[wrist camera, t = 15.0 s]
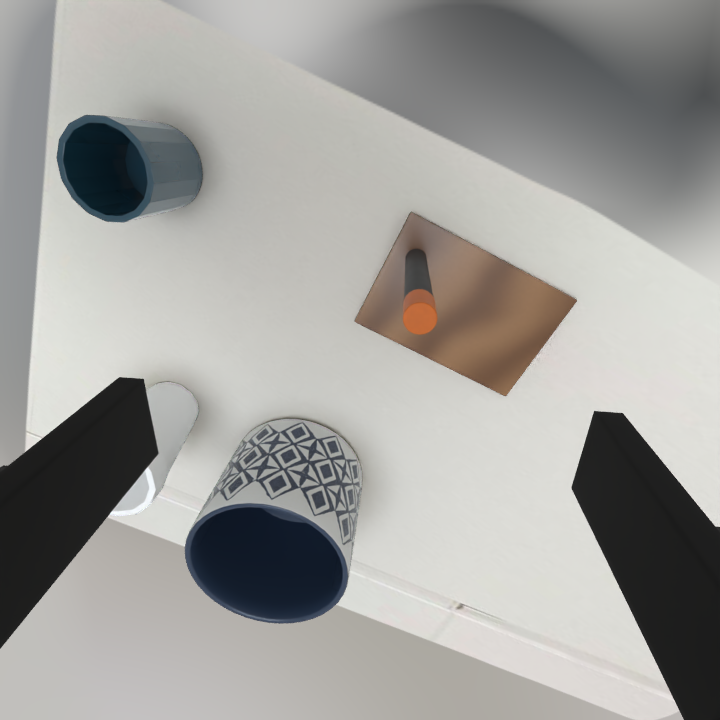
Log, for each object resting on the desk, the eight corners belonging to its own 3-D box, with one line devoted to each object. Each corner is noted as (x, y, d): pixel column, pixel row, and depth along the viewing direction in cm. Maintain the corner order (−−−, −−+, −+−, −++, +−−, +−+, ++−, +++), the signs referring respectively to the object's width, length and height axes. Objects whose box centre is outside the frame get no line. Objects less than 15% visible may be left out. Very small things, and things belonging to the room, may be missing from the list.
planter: (299, 537, 60) (269, 644, 47) (210, 461, 56) (150, 554, 43) (389, 480, 54) (384, 583, 41) (298, 391, 50) (260, 473, 37)
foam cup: (198, 450, 55) (141, 529, 44) (127, 418, 54) (49, 491, 43) (221, 391, 51) (165, 461, 40) (145, 356, 51) (65, 417, 39)
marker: (405, 247, 42) (404, 301, 27) (428, 248, 42) (439, 303, 27) (404, 269, 43) (401, 333, 28) (425, 270, 43) (435, 336, 28)
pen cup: (118, 121, 40) (45, 113, 32) (197, 124, 40) (143, 117, 32) (133, 207, 44) (70, 219, 35) (206, 211, 43) (159, 224, 35)
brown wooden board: (354, 320, 46) (354, 321, 46) (411, 211, 41) (410, 212, 41) (504, 394, 48) (505, 396, 48) (575, 298, 43) (577, 300, 43)
